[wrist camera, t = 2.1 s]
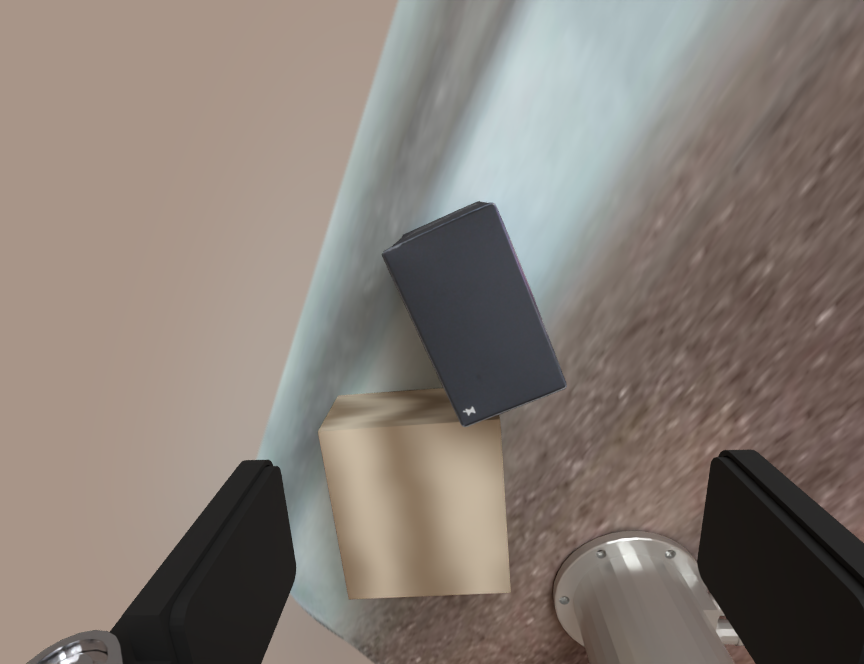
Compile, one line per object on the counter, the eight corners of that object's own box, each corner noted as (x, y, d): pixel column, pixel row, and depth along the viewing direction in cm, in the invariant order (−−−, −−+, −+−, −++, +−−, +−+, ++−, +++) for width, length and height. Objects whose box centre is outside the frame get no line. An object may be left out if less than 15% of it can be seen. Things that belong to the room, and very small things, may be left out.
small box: (539, 333, 34) (575, 391, 24) (457, 366, 35) (459, 435, 25) (484, 196, 32) (499, 197, 22) (398, 235, 33) (374, 254, 23)
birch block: (492, 382, 36) (499, 419, 30) (502, 534, 40) (510, 592, 34) (339, 394, 37) (317, 431, 31) (363, 541, 41) (348, 599, 35)
